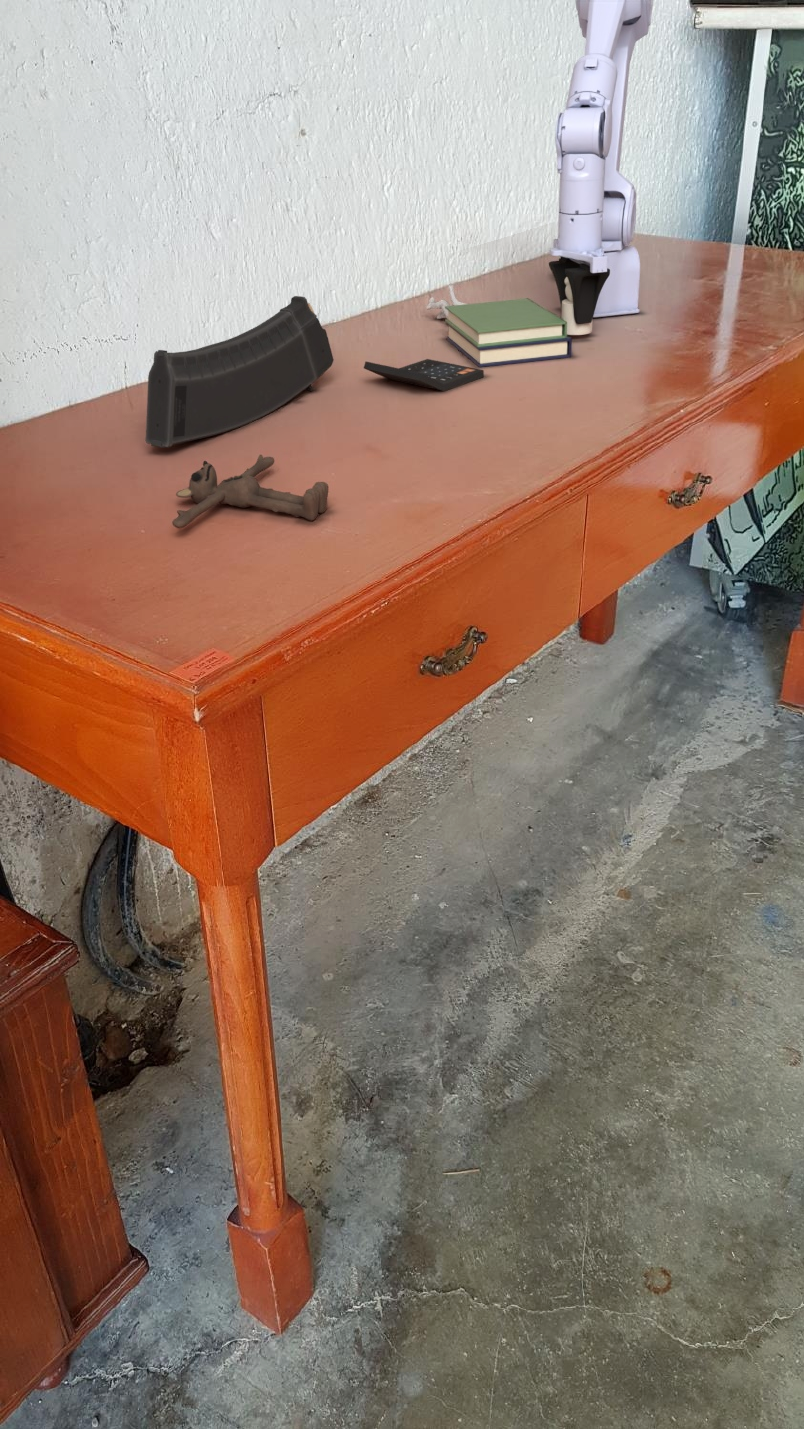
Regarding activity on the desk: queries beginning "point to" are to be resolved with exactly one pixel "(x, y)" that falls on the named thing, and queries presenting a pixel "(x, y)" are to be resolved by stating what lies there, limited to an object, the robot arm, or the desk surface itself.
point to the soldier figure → (444, 303)
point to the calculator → (428, 374)
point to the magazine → (235, 377)
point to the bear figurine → (247, 494)
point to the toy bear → (572, 315)
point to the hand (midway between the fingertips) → (576, 319)
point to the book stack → (507, 332)
